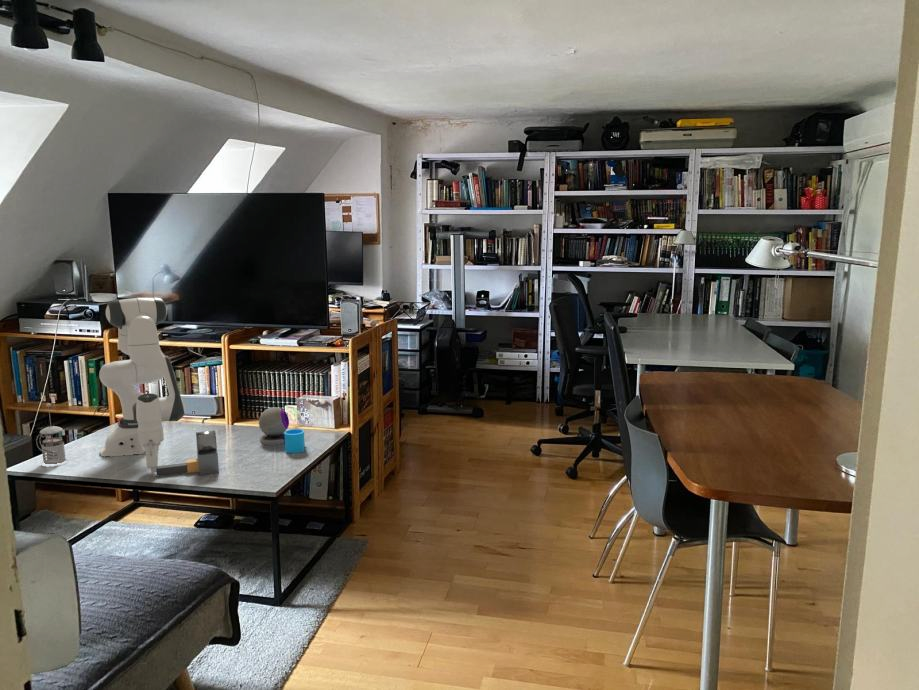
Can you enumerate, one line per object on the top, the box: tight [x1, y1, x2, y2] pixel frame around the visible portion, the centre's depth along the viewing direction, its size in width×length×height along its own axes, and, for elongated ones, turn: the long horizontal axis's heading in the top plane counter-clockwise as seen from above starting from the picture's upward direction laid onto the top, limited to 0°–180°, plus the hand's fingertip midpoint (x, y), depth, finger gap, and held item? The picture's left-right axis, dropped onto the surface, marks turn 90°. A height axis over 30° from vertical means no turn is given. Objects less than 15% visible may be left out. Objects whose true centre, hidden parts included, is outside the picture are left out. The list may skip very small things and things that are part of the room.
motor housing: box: [195, 429, 220, 476], centre depth 270 cm, size 7×14×15 cm, turn 23°
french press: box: [35, 402, 68, 464], centre depth 276 cm, size 10×12×25 cm
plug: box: [155, 457, 199, 476], centre depth 267 cm, size 16×4×4 cm, turn 113°
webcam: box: [258, 406, 290, 446], centre depth 305 cm, size 13×13×15 cm
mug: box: [284, 428, 306, 454], centre depth 294 cm, size 12×8×8 cm
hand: (154, 471), depth 264 cm, fingers closed, pressing on plug
